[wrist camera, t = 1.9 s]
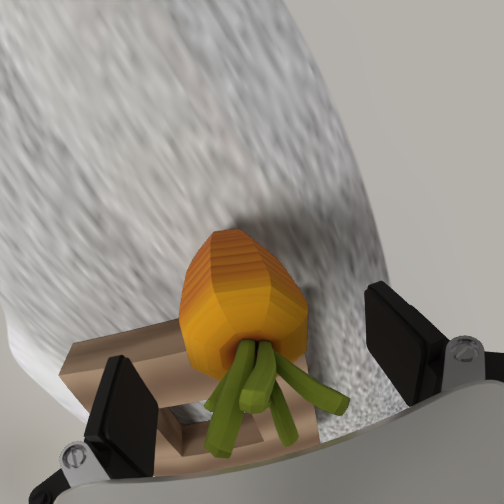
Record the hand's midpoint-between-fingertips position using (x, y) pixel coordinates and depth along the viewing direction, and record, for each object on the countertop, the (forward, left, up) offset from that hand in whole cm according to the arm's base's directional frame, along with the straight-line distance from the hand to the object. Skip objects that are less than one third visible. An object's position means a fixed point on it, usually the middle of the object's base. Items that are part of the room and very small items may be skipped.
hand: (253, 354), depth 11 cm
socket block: (+13, -6, -11) cm, 18 cm away
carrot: (-1, 0, -11) cm, 11 cm away
